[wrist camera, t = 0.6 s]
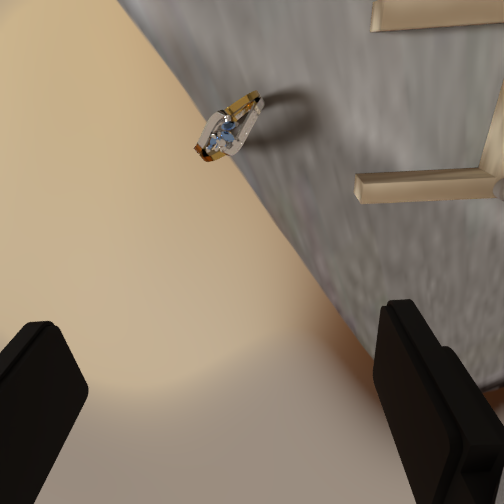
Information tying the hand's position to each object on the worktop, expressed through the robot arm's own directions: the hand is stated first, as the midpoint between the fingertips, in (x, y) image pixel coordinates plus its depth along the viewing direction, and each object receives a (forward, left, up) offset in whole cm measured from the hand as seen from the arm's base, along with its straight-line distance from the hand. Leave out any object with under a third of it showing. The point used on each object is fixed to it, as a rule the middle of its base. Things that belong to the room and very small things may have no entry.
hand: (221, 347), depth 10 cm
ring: (-2, -1, -27) cm, 27 cm away
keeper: (-2, +17, -26) cm, 31 cm away
